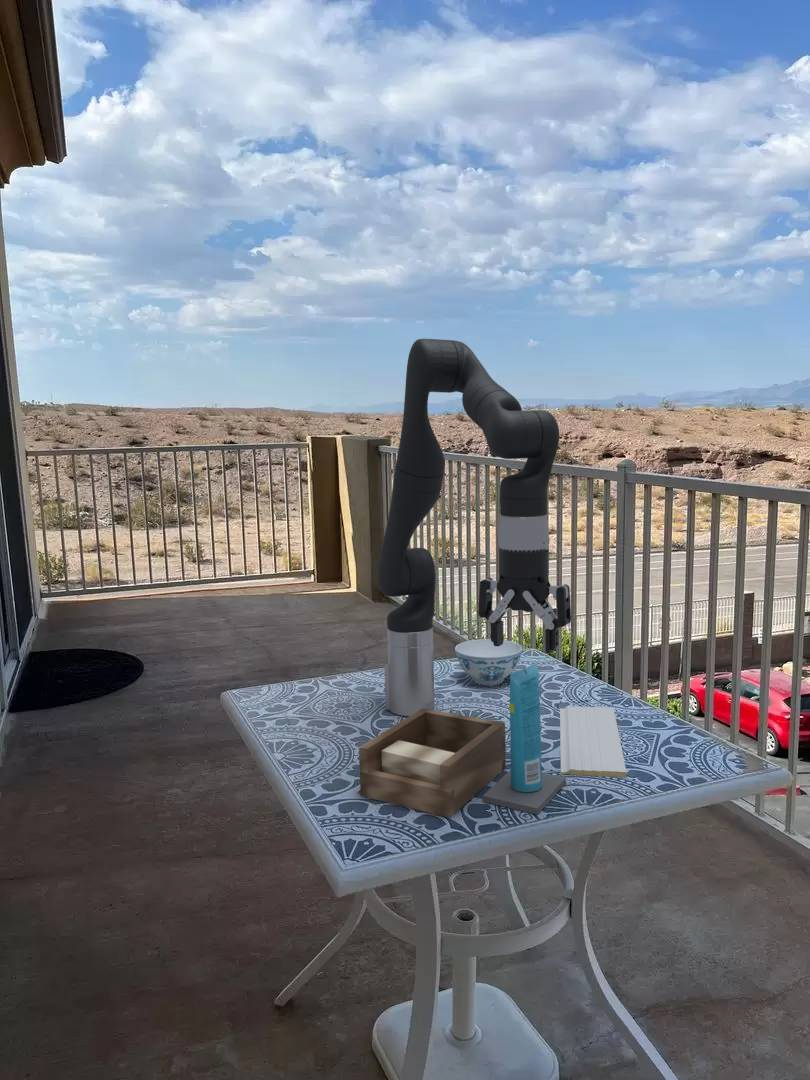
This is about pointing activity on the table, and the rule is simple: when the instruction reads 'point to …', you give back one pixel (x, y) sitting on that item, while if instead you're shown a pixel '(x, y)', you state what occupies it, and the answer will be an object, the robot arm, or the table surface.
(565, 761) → the baseboard molding
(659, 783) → the table surface
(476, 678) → the chinaware
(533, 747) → the tube
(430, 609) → the robot arm
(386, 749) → the offcut top
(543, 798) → the mat
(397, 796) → the open wooden box
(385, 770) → the offcut middle
